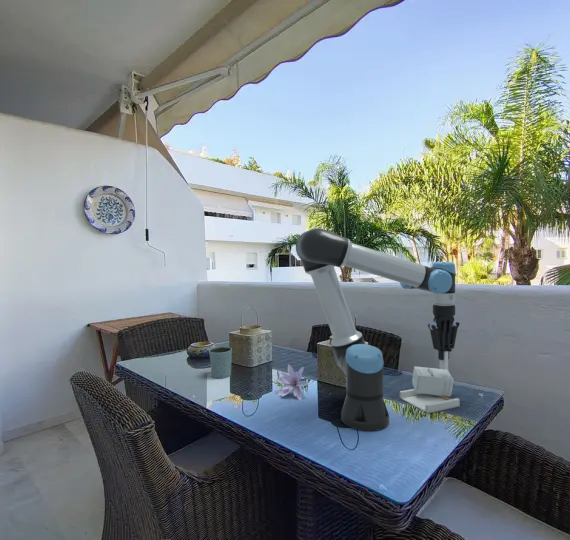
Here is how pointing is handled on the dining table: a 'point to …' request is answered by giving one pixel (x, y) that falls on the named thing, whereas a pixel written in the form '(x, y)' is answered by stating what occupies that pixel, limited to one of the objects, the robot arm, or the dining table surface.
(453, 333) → the robot arm
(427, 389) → the supplement box
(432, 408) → the cradle
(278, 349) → the dining table surface
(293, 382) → the water lily
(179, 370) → the dining table surface
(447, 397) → the stop batten
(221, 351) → the grey-green cup
